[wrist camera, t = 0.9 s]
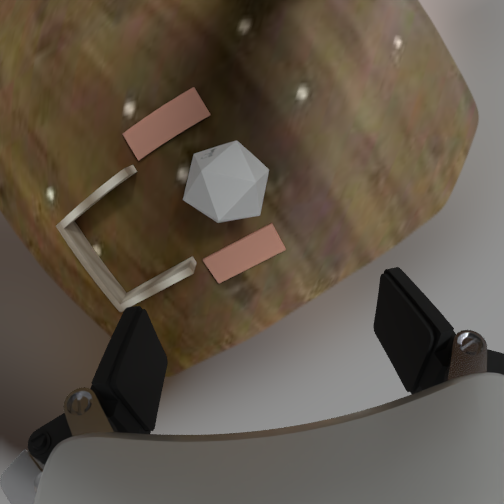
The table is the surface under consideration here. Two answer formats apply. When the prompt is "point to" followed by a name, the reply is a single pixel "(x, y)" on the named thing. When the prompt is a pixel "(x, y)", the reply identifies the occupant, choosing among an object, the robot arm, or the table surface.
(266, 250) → the mat
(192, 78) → the table surface
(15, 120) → the table surface
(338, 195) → the table surface
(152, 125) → the mat
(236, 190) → the die
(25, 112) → the table surface
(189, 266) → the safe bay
